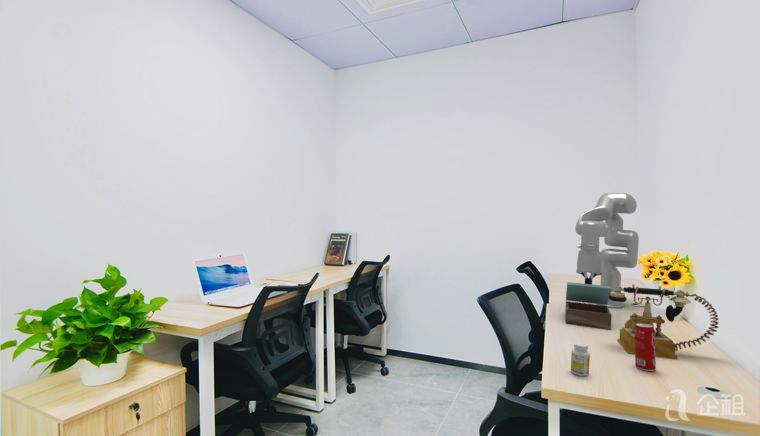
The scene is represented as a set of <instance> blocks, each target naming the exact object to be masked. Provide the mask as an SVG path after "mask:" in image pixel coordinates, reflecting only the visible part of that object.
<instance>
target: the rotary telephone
mask: <svg viewBox="0 0 760 436" xmlns="http://www.w3.org/2000/svg"><path fill="white" fill-rule="evenodd" d="M614 290H615V292H611V295H609V299H610V300H612V301H617V302H620V303H625V302H626V301H627V297H626V294H625V293H627V294H633V302H634V303H635V304H637V305H641V304H642V303H643V301H644V300H645V303H644V309H643V313H642V315H638V314H637V313H636V312H633V313H632V314H630V315H629V319H628V320H626V321H625V323H624V327H623V326H622V328H620V329H619V338H617V340H616V341H617V343H619V345H620V346H621V348H623V349H624V351H626V353H628V354H629V355H635V334H634V327H635V324H636V323H646V324H651V325H653V327H654V324H656V326H655V327H654V328H655V358H660V359H661V358H663V359H671V360H678V357H679V356H678V355H677V354H676V352H677V351H678V350H682V346H683V347H684V349H686V348H687V346H688V347H689V348H691V347H692V345H691V343H692V344H693V346H695V347H696V346H697V344H696V342H697V343H698V344H699V345H702V342H705V343H706V339H711V337H710V335H711V336H715V334H714V333H715V332H717V329H719V326H718V325H719V323H720V322H719V315H718V314H717V311H716V308H715V307H713V305H712V304H711V303H710V302H709V301H707V299H706V298H704V297H703V296H701V295H698V294H696V293H693V294H689V292H688V291H685V290H681V289H677V290H676V291H674V290H669V289H667V288H662V286H661V285H658V288H649V287H648V288H647V287H639V286H635V283H633V284H631V286H628V287H625V286H624V287H622V286H615V289H614ZM623 292H624V293H623ZM637 294H638V295H647V296H645V297H639V296H638V297H637V299H636V295H637ZM648 295H650V296H660V302H659V298H651V297H650V296H648ZM669 296H672V297H669ZM685 296H686V297H685ZM663 297H669V301H671V302H673V304H674V306H675V307H673V305H671V304H669V305H667V306H666V309H665V311H664V312H665V318H666V320H667V321H669V322H670V323H672V322H674V321H675V318H676V317H678V316H679V315H680V314H681V313H682V311H683V310H684V308H685V305H687V304H691V303H692V301H691V300H689V299H688V298H687V297H694V301H696V302H698V303H701V305H702V306H703V305H704V308H707V309H706V310H707V311H708V313H709V317H710V316H711V317H710V318H709V319H710V324H709V326H710V327H708V330H706V332H704V333H703V335H700V336H699V337H696V339H695V338H694V339H693V340H691V339H690V340H688V341H687V340H685V341H684V342H683V341H680V342H679V343H678V342H677V343H674V341H673V340H672V339H671V338H670V337H669V336H667V335H666V334H664V333H663V331H662V324H665V323H666V320H665V319H663V316H661V315H660V314H658V315H657V316H652V310H651V300H652V303H653V305H654V306H656V307H657V306H661V305H662V304H663V300H664V299H663ZM640 299H641V301H640ZM636 300H637V301H636ZM639 301H640V302H639ZM655 301H656V302H655ZM658 302H659V303H658ZM657 303H658V304H657ZM710 310H711V311H710ZM711 313H712V314H711ZM705 338H706V339H705ZM701 341H702V342H701ZM686 344H687V346H686ZM681 345H682V346H681Z"/></svg>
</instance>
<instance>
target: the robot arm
mask: <svg viewBox="0 0 760 436" xmlns="http://www.w3.org/2000/svg"><path fill="white" fill-rule="evenodd" d="M637 205H638V204H637V201H636V199H635V198H634V197H633V196H632V195H631V194H629V193H626V192H608V193H603V194H602V195H601V196H600V197H599V198H598V201H597V203H596V205H595V206H594V208H592V209H589V210H588V211H585V212H584V213H582V214H581V215H580V216H579V217H578V220H577V221H576V224H575V233H576V234H577V235H578V236H581V237H580V244H578V245H577V248H578V249H580V250H578V253H577V262H576V271H575V273H576V274H578V275H581V276H582V277H583V278H584V284H592V285H593V279H594V278H595V277H598V276H600V285H603V286H611V292H615V290H614V289H615V286H621V284H622V282H621V281H622V275H621V272H620V271H619V269H618V268H626V269H634V268H636V267H637V264H638V261H639V260H638V259H639V258H638V257H639V245H640V243H639V242H640V241H639V235H638V232H636V231H634V230H629V229H624V220H623V218H622V217H621V216H620V214H629V215H630V214H634V213H635V212H636V210H637ZM600 238H603V242H604V244H605V245H606V246H608V247H613V248H604V249H602V250H601V251H600ZM614 247H616V248H614ZM618 248H619V249H618ZM620 248H626V249H620ZM589 273H590V274H589ZM588 274H589V276H588ZM621 287H622V286H621ZM611 292H610V295H611ZM597 305H602V304H597ZM604 306H607V307H608V308H611V309H621V308H624V305H623V304H622V302H617V301H612V300H610V299H609V300H608V304H607V305H604Z"/></svg>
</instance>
